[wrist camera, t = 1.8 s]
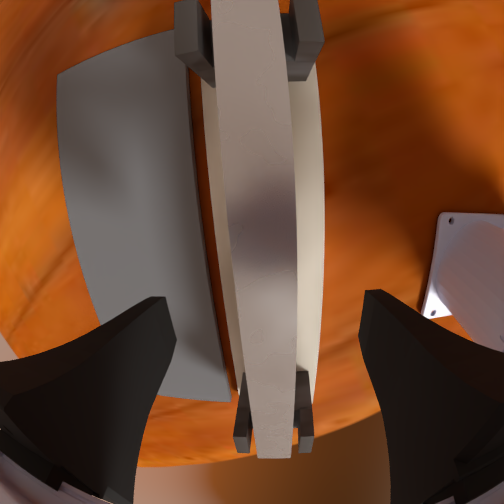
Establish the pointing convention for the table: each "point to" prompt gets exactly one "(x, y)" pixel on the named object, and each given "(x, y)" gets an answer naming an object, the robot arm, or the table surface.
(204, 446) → the table surface
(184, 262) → the mat
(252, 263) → the rail
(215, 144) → the hook stand
